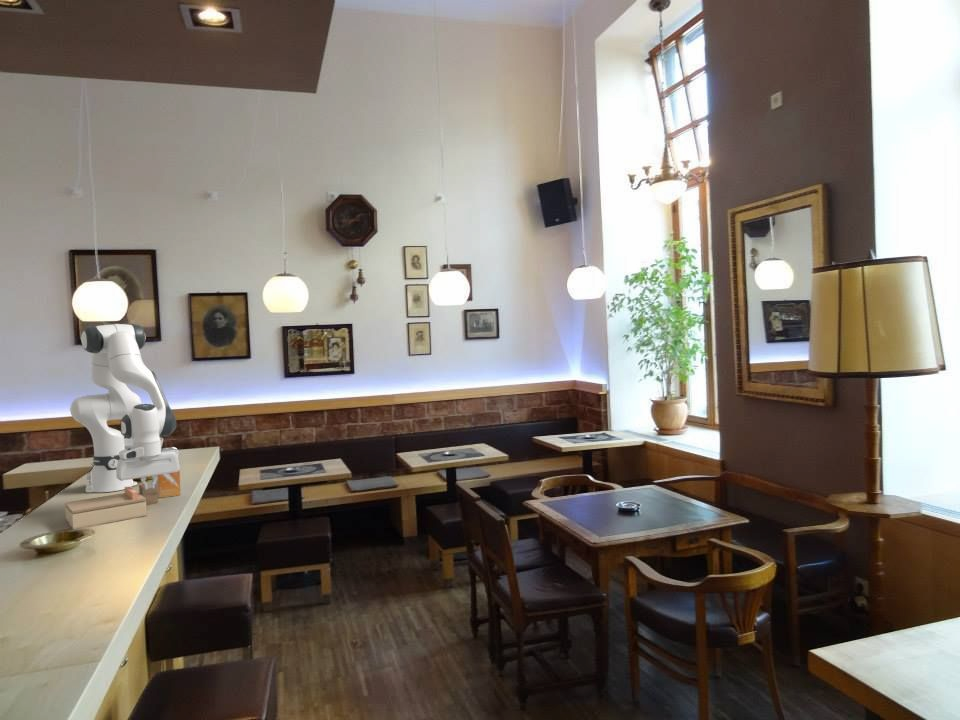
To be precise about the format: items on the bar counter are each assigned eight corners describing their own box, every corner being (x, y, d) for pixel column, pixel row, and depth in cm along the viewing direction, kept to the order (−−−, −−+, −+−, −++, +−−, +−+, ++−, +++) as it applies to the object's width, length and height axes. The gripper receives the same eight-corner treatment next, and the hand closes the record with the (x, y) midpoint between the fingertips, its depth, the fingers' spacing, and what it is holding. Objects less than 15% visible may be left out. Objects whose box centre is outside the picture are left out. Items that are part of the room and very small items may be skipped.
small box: (158, 498, 258) (156, 464, 257) (156, 495, 263) (154, 462, 262) (181, 495, 262) (179, 461, 261) (178, 492, 267) (176, 459, 267)
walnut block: (139, 503, 251) (138, 484, 251) (154, 501, 254) (153, 482, 254) (143, 506, 247) (142, 487, 247) (157, 503, 250) (156, 484, 250)
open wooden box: (65, 520, 231) (65, 505, 231) (136, 507, 245) (135, 494, 244) (73, 529, 219) (72, 514, 219) (146, 515, 233) (146, 501, 233)
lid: (65, 505, 231) (64, 495, 230) (135, 493, 244) (135, 484, 244) (72, 513, 219) (71, 503, 219) (146, 500, 233) (145, 491, 233)
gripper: (175, 445, 249) (177, 482, 249) (113, 453, 236) (116, 492, 236) (180, 447, 244) (182, 485, 244) (117, 455, 231) (120, 495, 232)
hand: (149, 488), depth 240 cm, fingers closed
